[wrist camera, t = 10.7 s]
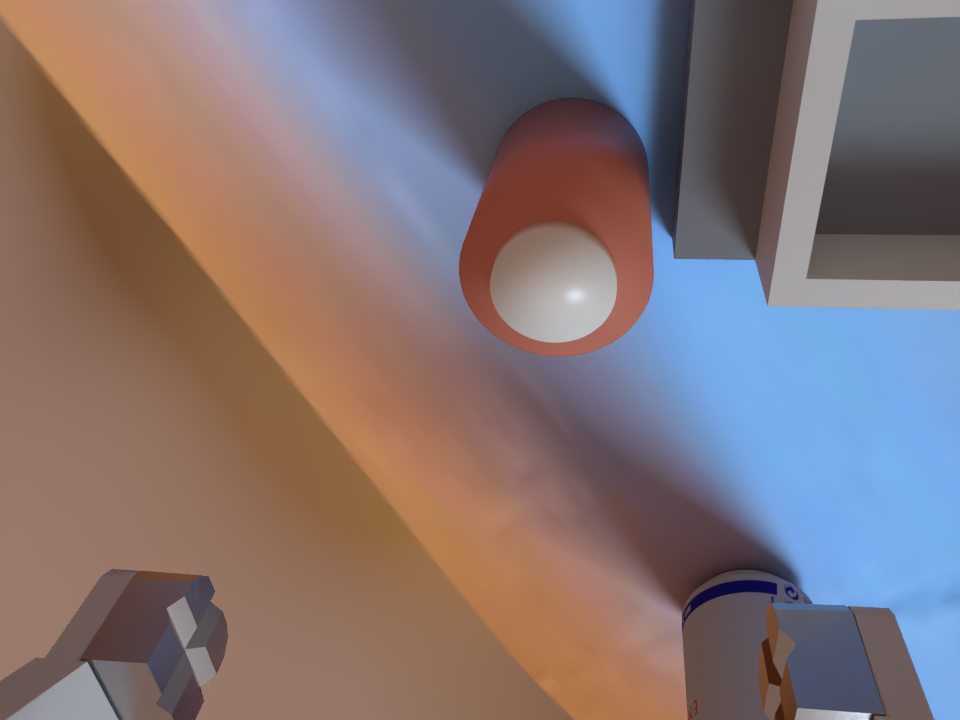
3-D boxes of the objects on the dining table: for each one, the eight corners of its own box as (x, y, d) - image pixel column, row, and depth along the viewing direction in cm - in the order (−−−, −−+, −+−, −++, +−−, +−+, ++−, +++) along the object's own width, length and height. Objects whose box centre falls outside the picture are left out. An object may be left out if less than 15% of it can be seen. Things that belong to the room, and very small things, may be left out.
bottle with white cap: (653, 96, 21) (660, 196, 16) (644, 244, 24) (648, 374, 19) (490, 99, 22) (446, 196, 17) (498, 243, 25) (462, 367, 19)
